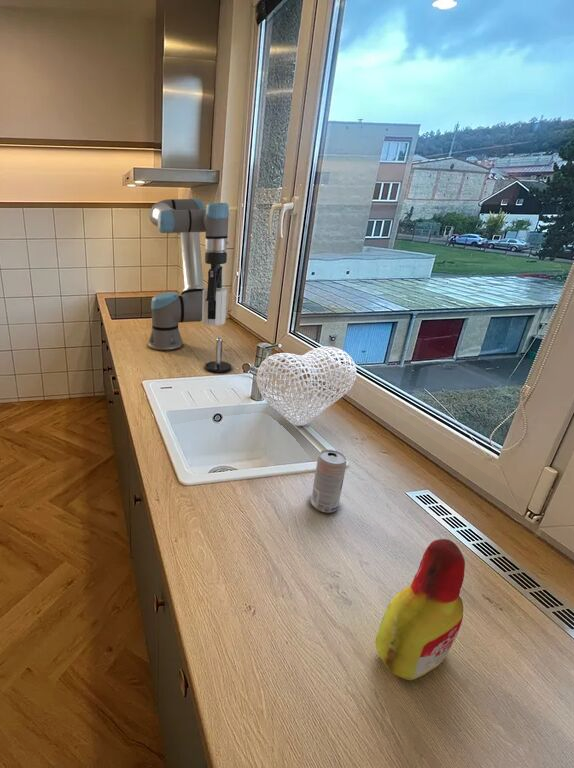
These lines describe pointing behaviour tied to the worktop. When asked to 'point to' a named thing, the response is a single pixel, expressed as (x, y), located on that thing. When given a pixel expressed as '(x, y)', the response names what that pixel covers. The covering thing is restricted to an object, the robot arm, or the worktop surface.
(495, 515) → the worktop surface
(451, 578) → the bottle
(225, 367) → the towel stand
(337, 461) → the energy drink
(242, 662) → the worktop surface
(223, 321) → the paper towel roll
